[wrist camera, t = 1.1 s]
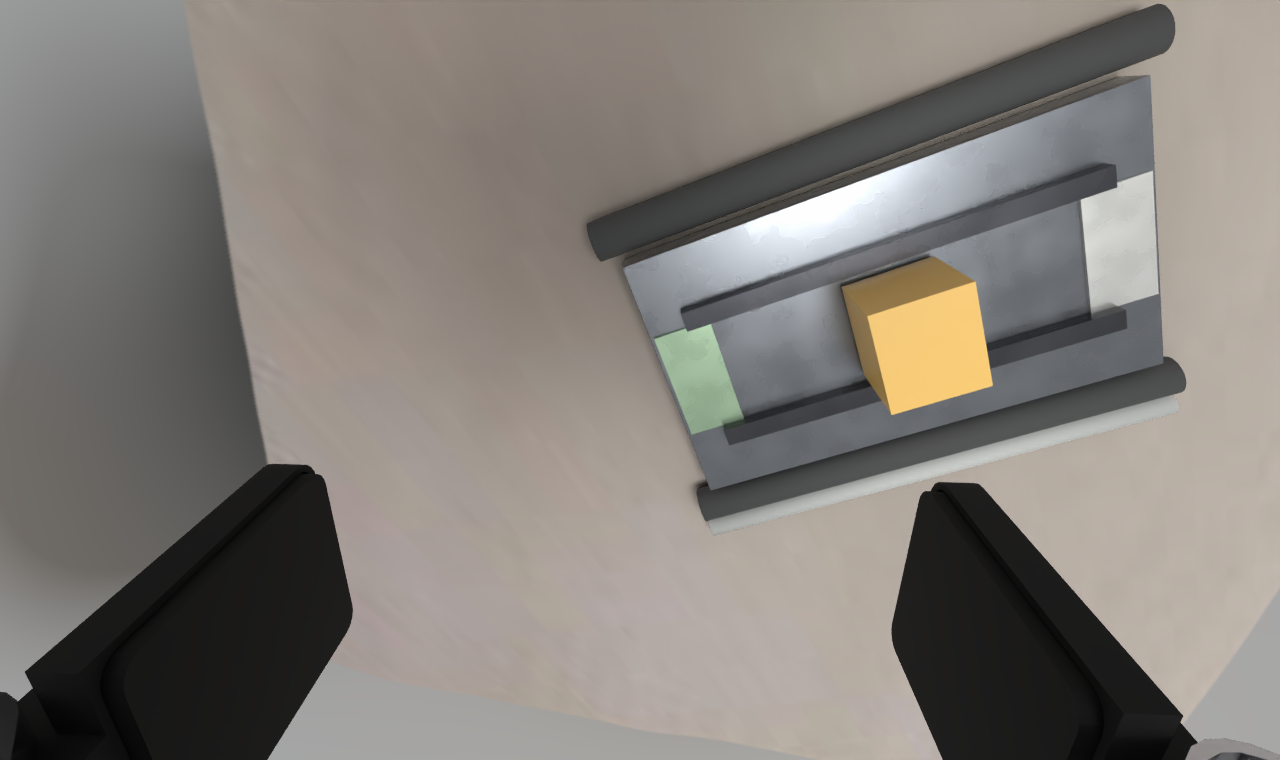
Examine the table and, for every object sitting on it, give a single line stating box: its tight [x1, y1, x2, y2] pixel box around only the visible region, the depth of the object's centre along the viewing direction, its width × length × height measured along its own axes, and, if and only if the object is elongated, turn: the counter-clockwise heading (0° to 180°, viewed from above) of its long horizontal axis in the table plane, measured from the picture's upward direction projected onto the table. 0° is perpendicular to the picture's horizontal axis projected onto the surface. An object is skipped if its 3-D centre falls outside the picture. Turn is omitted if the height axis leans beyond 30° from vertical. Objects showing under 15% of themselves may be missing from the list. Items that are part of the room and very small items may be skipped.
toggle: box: [842, 256, 993, 415], centre depth 28 cm, size 4×5×4 cm
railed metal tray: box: [623, 75, 1163, 490], centre depth 31 cm, size 24×14×3 cm, turn 111°
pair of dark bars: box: [587, 4, 1186, 536], centre depth 32 cm, size 26×20×2 cm
